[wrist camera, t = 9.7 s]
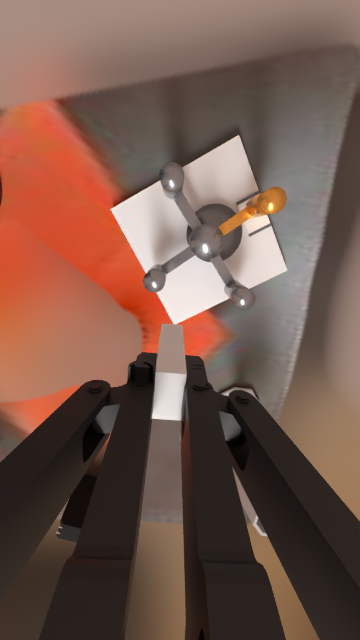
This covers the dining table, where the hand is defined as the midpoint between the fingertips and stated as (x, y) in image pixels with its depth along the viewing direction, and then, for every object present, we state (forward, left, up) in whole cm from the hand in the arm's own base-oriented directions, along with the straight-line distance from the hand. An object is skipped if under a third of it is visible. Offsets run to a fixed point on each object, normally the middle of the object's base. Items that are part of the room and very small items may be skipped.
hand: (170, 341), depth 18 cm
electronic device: (+33, -36, -24) cm, 55 cm away
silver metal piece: (-4, +7, -22) cm, 23 cm away
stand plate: (-4, +7, -24) cm, 25 cm away
